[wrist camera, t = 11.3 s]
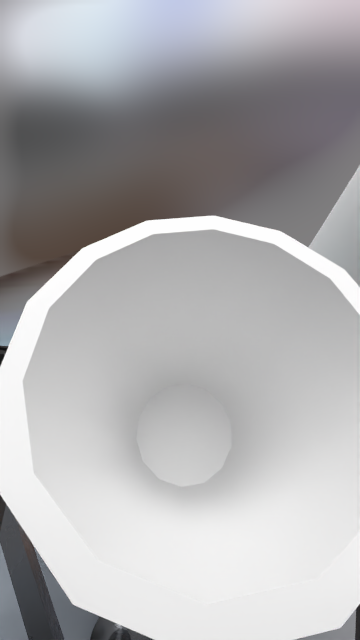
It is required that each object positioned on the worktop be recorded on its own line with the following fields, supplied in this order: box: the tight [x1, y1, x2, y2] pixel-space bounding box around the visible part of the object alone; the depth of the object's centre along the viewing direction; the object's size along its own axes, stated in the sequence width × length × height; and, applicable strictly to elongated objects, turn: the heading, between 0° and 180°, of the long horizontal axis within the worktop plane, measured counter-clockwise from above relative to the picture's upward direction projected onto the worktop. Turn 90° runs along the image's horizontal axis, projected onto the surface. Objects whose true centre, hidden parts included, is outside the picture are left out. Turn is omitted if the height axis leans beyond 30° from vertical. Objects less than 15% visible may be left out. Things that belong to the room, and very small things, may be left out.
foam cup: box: [0, 216, 360, 640], centre depth 12 cm, size 10×9×13 cm
